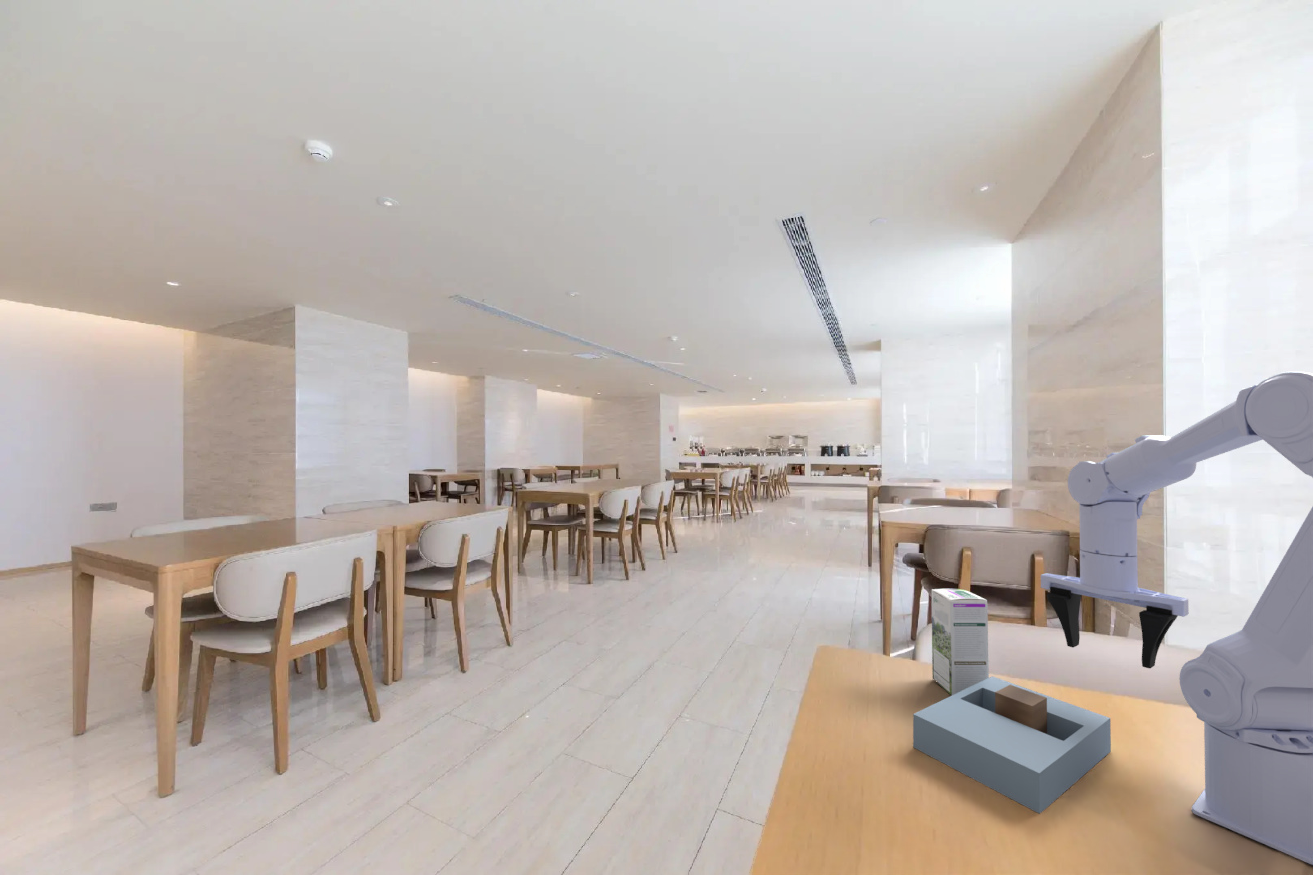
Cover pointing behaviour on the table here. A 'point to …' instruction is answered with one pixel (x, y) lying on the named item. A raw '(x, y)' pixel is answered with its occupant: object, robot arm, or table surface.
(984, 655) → the syrup box
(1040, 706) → the walnut block
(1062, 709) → the well stand
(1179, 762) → the table surface
